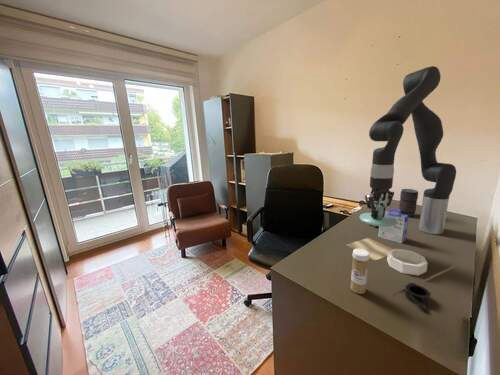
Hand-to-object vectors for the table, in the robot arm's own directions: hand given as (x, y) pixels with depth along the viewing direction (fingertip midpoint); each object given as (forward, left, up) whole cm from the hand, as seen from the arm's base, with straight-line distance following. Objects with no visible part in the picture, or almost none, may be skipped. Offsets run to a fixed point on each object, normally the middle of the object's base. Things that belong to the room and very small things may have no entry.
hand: (377, 217), depth 87 cm
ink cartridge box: (-16, -4, -15) cm, 22 cm away
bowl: (0, +12, -15) cm, 20 cm away
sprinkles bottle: (+25, +13, -15) cm, 32 cm away
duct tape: (+13, +24, -16) cm, 31 cm away
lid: (0, 0, -1) cm, 1 cm away
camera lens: (-51, -19, -15) cm, 56 cm away
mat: (0, -2, -15) cm, 15 cm away
